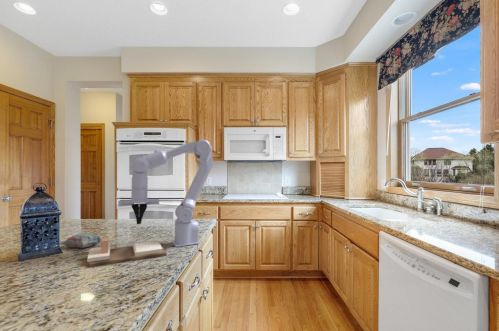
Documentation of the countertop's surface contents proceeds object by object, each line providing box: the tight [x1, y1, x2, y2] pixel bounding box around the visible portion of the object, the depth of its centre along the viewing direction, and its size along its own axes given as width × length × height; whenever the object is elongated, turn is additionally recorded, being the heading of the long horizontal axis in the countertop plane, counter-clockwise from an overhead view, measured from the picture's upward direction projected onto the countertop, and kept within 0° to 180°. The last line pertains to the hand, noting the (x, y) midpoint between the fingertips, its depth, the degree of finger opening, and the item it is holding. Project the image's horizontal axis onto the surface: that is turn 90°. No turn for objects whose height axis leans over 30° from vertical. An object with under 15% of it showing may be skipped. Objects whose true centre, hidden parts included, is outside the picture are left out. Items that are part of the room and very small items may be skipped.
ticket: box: [132, 240, 164, 256], centre depth 90 cm, size 9×11×1 cm
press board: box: [88, 242, 167, 268], centre depth 87 cm, size 23×14×1 cm, turn 119°
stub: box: [86, 236, 111, 263], centre depth 82 cm, size 6×11×5 cm, turn 29°
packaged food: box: [59, 233, 102, 249], centre depth 95 cm, size 9×12×5 cm
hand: (138, 223), depth 95 cm, fingers closed
